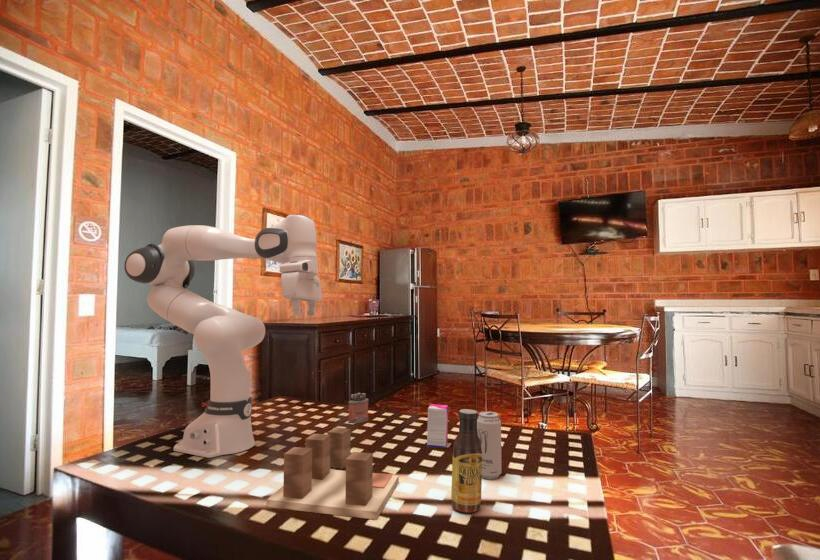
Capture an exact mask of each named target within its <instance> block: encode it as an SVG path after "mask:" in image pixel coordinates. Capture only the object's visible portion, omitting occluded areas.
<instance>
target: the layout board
mask: <svg viewBox="0 0 820 560" xmlns="http://www.w3.org/2000/svg"><path fill="white" fill-rule="evenodd" d="M304 439H305V442H304V444H305V447H300V446H299V447H298V446H297V447H296V446H292V448H290V449H288V451H286V452H284V453H283V486H281V487H280V488H279V489H278V490H276V491H275V492H274V493H273V494H272V495H270V496H269V497H268V498H267V499H266V508H275V509H283V510H290V511H291V510H292V511H299V512H307V513H317V514H325V515H334V516H341V517H342V516H343V517H348V518H349V517H350V518H359V519H368V520H378V518H379V516H380V515H381V513H382V511H383V510H384V507H385V506H386V505H387V503H388V501H389V499H390V498H391V496H392V494H393V492H394V491H395V489H396V487H397V486H398V484H399V481H400V480H399V479H400V478H399V477H400V476H399V475H393V474H389V473H388V474H387V473H375V472H373V466H374V465H373V463H374V461H373V460H374V453H372V452H360V451H353V452H351V453H350V456H348V457H347V458H346V467H345V470H343V469H331V467H330V435H328V434H324V433H312V434H311V435H309V436H307V438H304Z"/></svg>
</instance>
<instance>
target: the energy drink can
mask: <svg viewBox="0 0 820 560" xmlns="http://www.w3.org/2000/svg"><path fill="white" fill-rule="evenodd" d="M477 434H478V437H479V439H480V441H481V448H482V479H485V478H486V479H485V480H496V479H495V478H497V479H499V478H498V477H500V476H501V474H502V473H503V472H502V469H503V468H502V421H501V419H500V416H499V412H498V413H497V412H493V411H480V412H478V419H477ZM487 478H488V479H487Z"/></svg>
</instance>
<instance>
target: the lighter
mask: <svg viewBox="0 0 820 560" xmlns="http://www.w3.org/2000/svg"><path fill="white" fill-rule="evenodd" d="M366 394H367V393H365V392H363V393H361V392H357V393H354V394H353V393H352V394H350V399H352V400H349V401H348V421H347V422H348V424H351V423H352V424H359V423H364V422H367V421H369V398H366V396H367V395H366Z"/></svg>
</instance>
